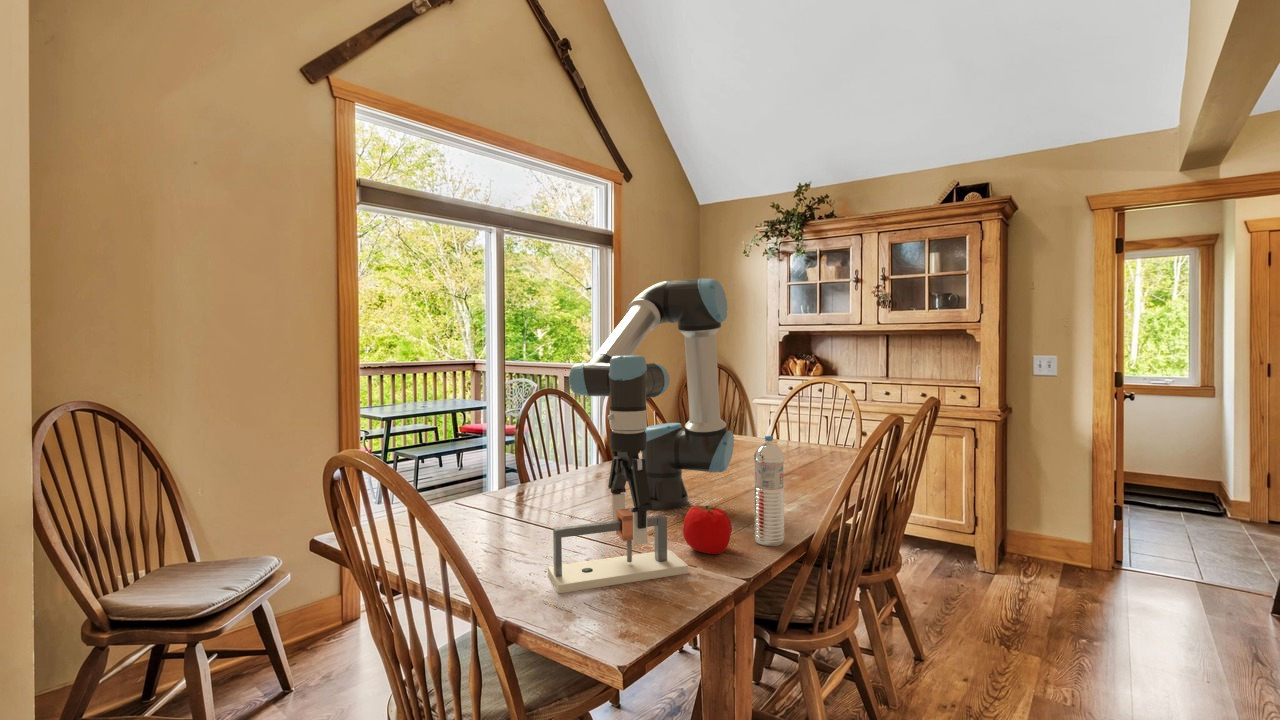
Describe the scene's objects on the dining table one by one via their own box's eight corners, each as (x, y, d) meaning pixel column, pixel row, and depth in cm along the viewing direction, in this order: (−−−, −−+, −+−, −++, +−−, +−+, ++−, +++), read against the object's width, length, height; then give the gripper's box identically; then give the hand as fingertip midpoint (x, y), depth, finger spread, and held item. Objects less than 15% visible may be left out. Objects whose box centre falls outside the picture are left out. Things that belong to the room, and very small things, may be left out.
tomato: (705, 564, 128) (705, 516, 128) (671, 547, 139) (671, 503, 138) (745, 553, 134) (745, 508, 134) (709, 538, 145) (709, 496, 144)
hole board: (669, 556, 132) (669, 549, 132) (688, 573, 123) (688, 564, 123) (547, 574, 123) (547, 566, 123) (558, 593, 114) (558, 584, 114)
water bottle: (765, 535, 146) (764, 433, 145) (789, 542, 141) (789, 436, 140) (748, 542, 141) (748, 436, 141) (773, 549, 136) (773, 440, 136)
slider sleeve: (634, 556, 127) (634, 507, 127) (642, 564, 122) (642, 514, 122) (616, 558, 125) (616, 509, 125) (624, 567, 121) (623, 516, 120)
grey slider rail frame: (663, 557, 128) (663, 514, 127) (667, 560, 126) (666, 517, 125) (553, 573, 119) (553, 527, 119) (555, 577, 118) (555, 530, 117)
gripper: (593, 424, 133) (594, 519, 134) (630, 440, 110) (631, 555, 110) (625, 422, 136) (626, 515, 136) (668, 438, 113) (669, 550, 113)
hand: (628, 533), depth 123 cm, fingers open, 13 cm apart
